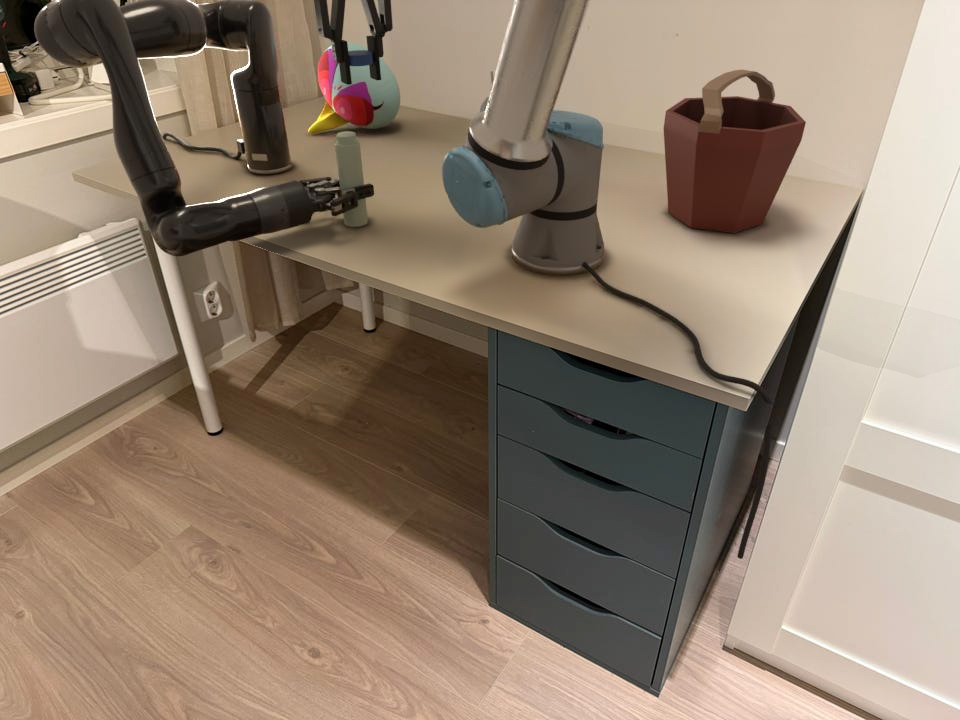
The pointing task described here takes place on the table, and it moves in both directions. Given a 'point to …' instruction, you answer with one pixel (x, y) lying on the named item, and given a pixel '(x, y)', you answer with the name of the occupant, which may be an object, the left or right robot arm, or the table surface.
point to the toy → (356, 95)
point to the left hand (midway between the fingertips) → (365, 185)
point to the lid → (360, 57)
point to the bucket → (728, 154)
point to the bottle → (351, 174)
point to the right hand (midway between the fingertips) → (361, 80)
